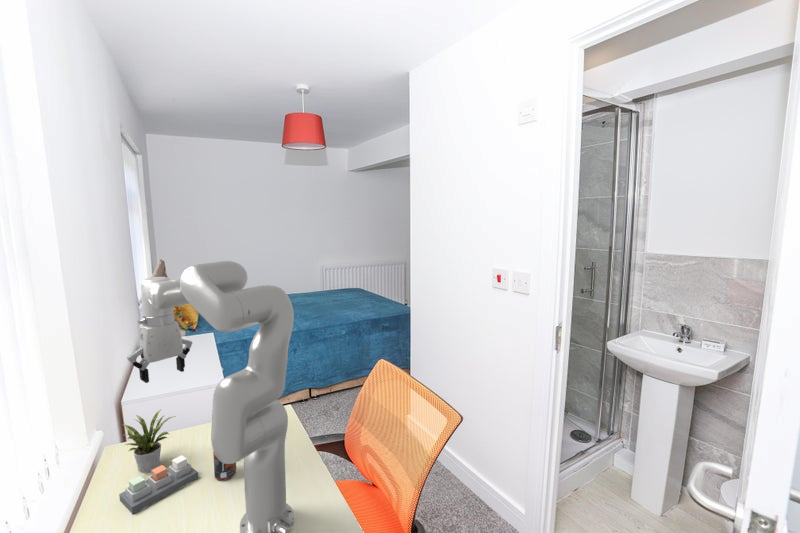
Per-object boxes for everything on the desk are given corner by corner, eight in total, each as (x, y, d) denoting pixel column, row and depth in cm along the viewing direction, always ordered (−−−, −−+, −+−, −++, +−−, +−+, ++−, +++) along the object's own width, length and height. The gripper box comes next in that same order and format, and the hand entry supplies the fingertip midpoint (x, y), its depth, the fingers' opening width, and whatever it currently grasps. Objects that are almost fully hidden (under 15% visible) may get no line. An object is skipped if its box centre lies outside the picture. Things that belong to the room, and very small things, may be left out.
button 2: (167, 476, 111) (166, 468, 110) (156, 482, 108) (155, 474, 108) (162, 472, 112) (162, 464, 112) (152, 478, 110) (151, 470, 109)
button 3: (187, 466, 115) (186, 458, 115) (177, 471, 113) (176, 463, 112) (182, 462, 117) (182, 455, 116) (172, 467, 114) (172, 460, 114)
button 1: (145, 488, 106) (145, 479, 106) (134, 494, 104) (133, 485, 103) (141, 483, 108) (140, 475, 107) (129, 489, 105) (128, 481, 105)
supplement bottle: (228, 483, 113) (226, 446, 112) (210, 480, 115) (207, 443, 113) (240, 469, 119) (239, 434, 117) (223, 467, 120) (221, 432, 119)
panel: (198, 478, 115) (197, 465, 115) (132, 514, 102) (131, 500, 101) (184, 467, 120) (183, 455, 119) (119, 500, 106) (118, 487, 106)
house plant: (178, 445, 131) (174, 399, 128) (182, 469, 119) (178, 418, 117) (126, 460, 123) (121, 411, 120) (125, 486, 111) (119, 433, 109)
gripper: (130, 329, 106) (135, 390, 108) (195, 315, 119) (199, 369, 122) (119, 324, 110) (125, 382, 113) (183, 311, 124) (187, 363, 126)
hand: (163, 375), depth 117 cm, fingers open, 9 cm apart
